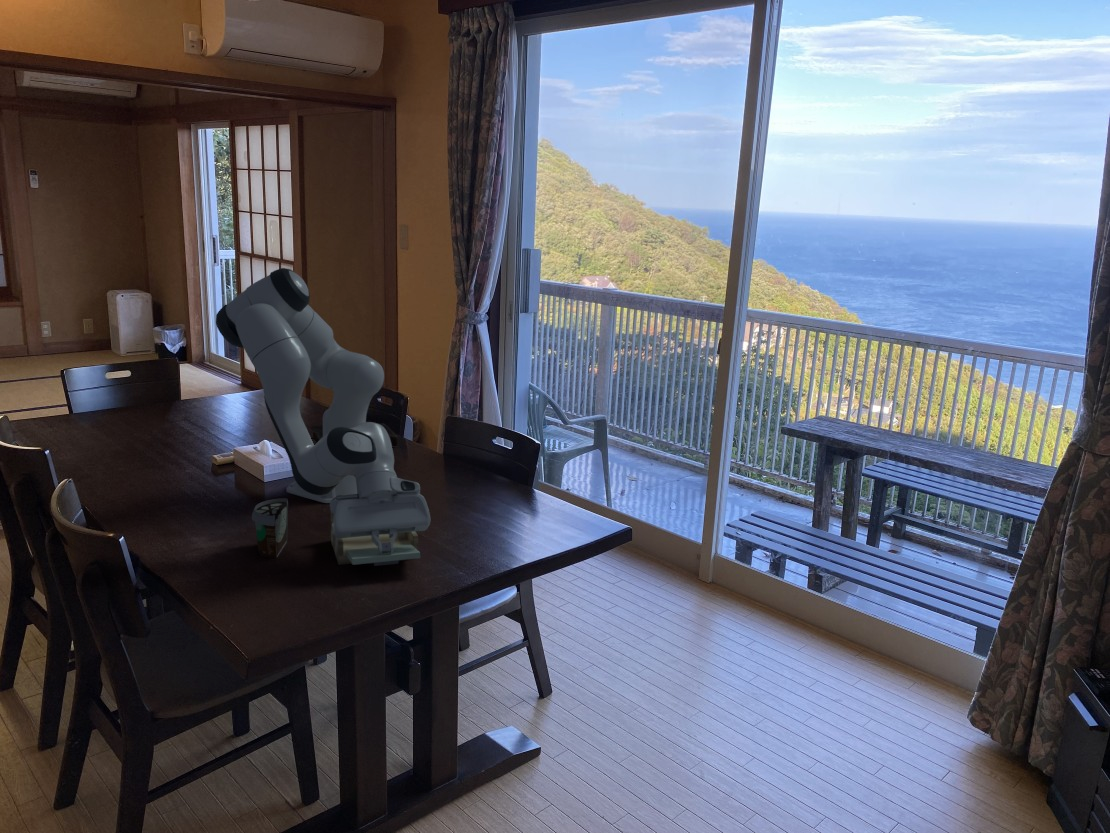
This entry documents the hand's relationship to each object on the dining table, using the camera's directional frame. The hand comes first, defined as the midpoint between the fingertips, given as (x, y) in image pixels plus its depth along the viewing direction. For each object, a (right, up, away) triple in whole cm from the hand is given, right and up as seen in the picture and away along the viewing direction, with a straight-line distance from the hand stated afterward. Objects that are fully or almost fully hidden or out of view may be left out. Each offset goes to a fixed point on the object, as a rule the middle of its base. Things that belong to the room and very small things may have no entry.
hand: (386, 552), depth 166 cm
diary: (-32, +19, +99) cm, 106 cm away
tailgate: (-3, -1, +8) cm, 9 cm away
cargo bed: (-6, -2, +15) cm, 16 cm away
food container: (-29, -1, +11) cm, 31 cm away
